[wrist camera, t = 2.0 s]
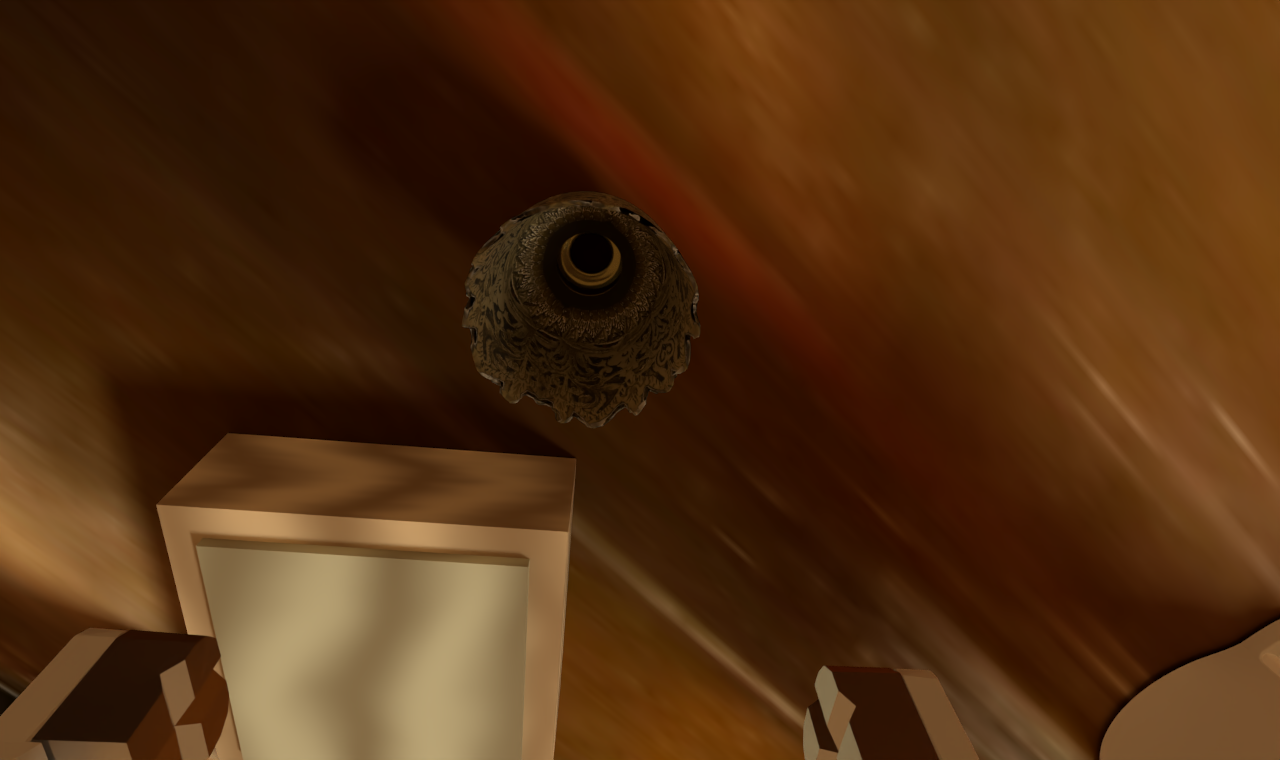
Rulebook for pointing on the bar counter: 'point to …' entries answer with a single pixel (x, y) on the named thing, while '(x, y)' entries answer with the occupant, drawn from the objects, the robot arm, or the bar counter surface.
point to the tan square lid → (376, 596)
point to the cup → (581, 309)
